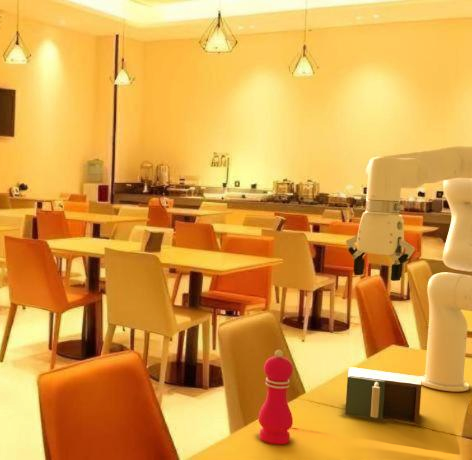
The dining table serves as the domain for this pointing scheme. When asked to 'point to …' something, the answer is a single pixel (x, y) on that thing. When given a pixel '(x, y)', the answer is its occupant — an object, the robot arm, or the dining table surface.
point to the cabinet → (396, 393)
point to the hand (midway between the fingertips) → (376, 277)
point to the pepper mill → (276, 401)
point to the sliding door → (365, 397)
